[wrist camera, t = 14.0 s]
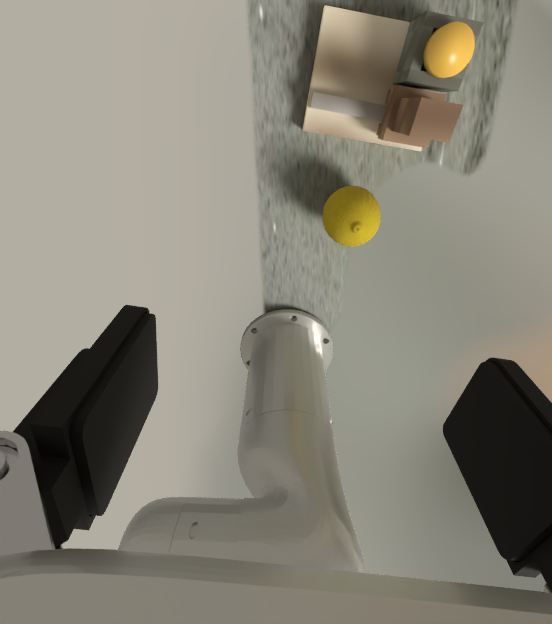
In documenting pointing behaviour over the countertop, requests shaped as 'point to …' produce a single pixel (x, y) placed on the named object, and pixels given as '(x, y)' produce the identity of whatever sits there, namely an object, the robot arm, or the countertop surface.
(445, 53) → the button
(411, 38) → the rail base
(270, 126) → the countertop surface
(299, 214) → the countertop surface
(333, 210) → the lemon
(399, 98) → the block
